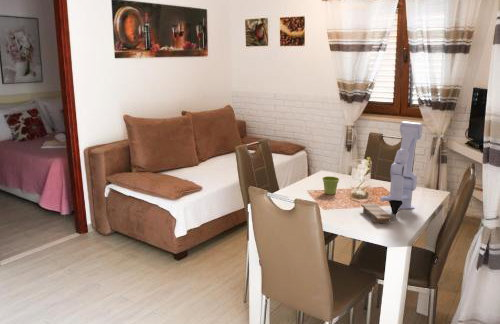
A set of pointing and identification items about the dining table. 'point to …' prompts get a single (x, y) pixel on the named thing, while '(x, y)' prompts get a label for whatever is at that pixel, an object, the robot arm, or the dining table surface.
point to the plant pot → (330, 184)
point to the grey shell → (391, 214)
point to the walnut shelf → (376, 213)
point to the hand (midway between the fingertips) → (394, 214)
